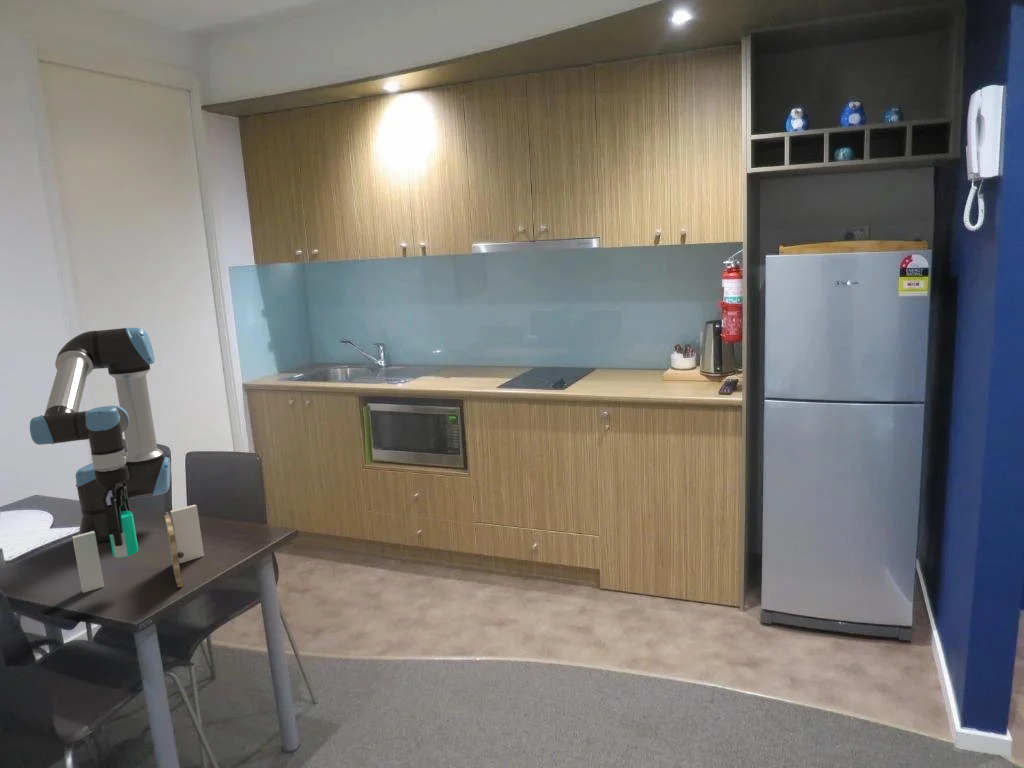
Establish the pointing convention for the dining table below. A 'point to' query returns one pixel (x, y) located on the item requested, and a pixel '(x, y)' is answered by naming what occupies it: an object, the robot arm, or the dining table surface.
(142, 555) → the dining table surface
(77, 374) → the robot arm
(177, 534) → the door frame
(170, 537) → the door
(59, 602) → the dining table surface
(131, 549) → the candle
